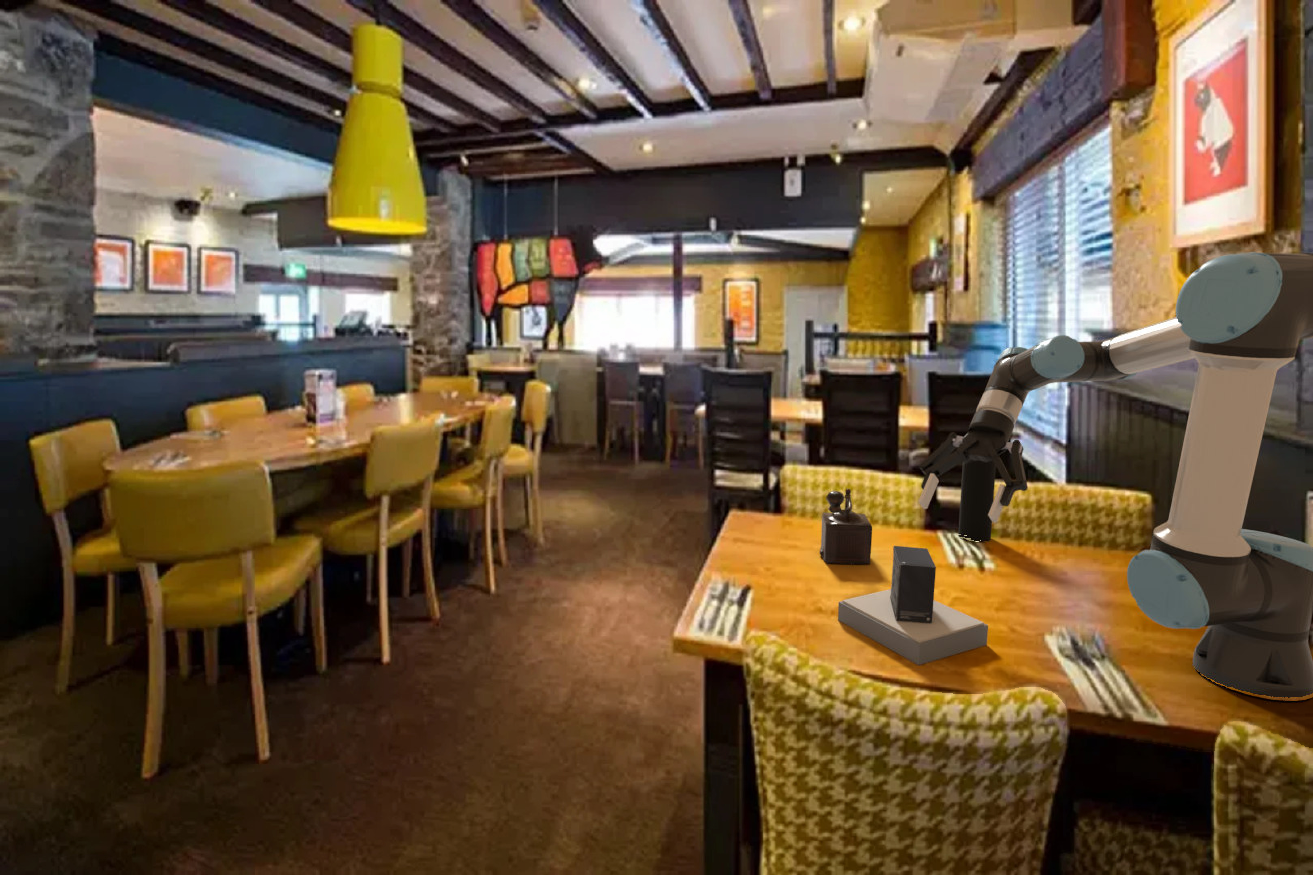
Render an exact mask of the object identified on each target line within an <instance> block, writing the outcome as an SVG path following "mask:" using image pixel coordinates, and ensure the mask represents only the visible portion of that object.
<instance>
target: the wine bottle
mask: <svg viewBox="0 0 1313 875" xmlns="http://www.w3.org/2000/svg"><path fill="white" fill-rule="evenodd" d="M961 468H962V471H961V472H962V473H961V486H960V503H959V519H958V521H959V522H958V534H961V535H958V534H957V535H958V536H960V537H965V538H971V540H974V541H980V540H981V542H980V543H984V542H983V541H987V542H990V541H991V539H992V523H993V522H992V521H991V519H990V517H989V516H988V514H989V511H990V509H991V506H992V504H993V501H994V499H995V496H994V495H995V483H996V472H997V467H996V465H995V463H994V461H993V460H991V461H988V462H983V461H981V460H978V461H975V460H972V459H969V460H967V461H966V462H962V467H961ZM964 535H967V536H964Z"/></svg>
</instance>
